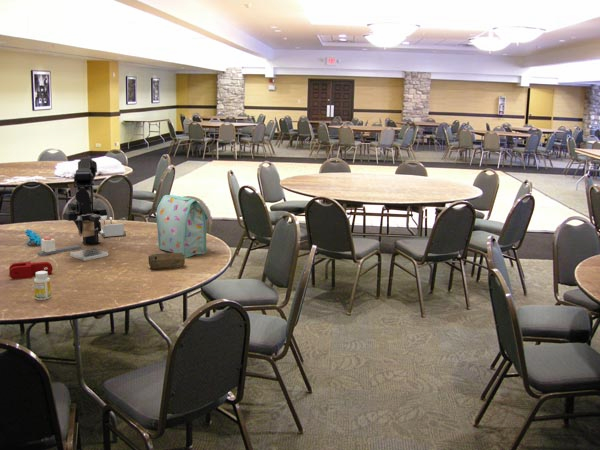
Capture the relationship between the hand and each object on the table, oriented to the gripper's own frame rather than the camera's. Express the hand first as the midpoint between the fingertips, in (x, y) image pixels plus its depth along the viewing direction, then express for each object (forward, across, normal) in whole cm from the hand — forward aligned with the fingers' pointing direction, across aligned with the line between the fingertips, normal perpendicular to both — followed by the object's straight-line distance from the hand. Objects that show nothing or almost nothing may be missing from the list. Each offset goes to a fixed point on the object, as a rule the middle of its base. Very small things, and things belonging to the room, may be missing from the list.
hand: (86, 232), depth 272 cm
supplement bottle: (+10, +41, +41) cm, 59 cm away
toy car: (+12, -31, -32) cm, 46 cm away
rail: (+11, +5, -16) cm, 20 cm away
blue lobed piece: (+11, +7, -36) cm, 38 cm away
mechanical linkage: (+11, +31, +11) cm, 35 cm away
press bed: (+11, -1, 0) cm, 11 cm away
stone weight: (+11, -14, +40) cm, 44 cm away
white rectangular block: (+9, +11, -16) cm, 21 cm away
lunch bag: (+11, -36, +23) cm, 44 cm away
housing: (+1, 0, 0) cm, 1 cm away
